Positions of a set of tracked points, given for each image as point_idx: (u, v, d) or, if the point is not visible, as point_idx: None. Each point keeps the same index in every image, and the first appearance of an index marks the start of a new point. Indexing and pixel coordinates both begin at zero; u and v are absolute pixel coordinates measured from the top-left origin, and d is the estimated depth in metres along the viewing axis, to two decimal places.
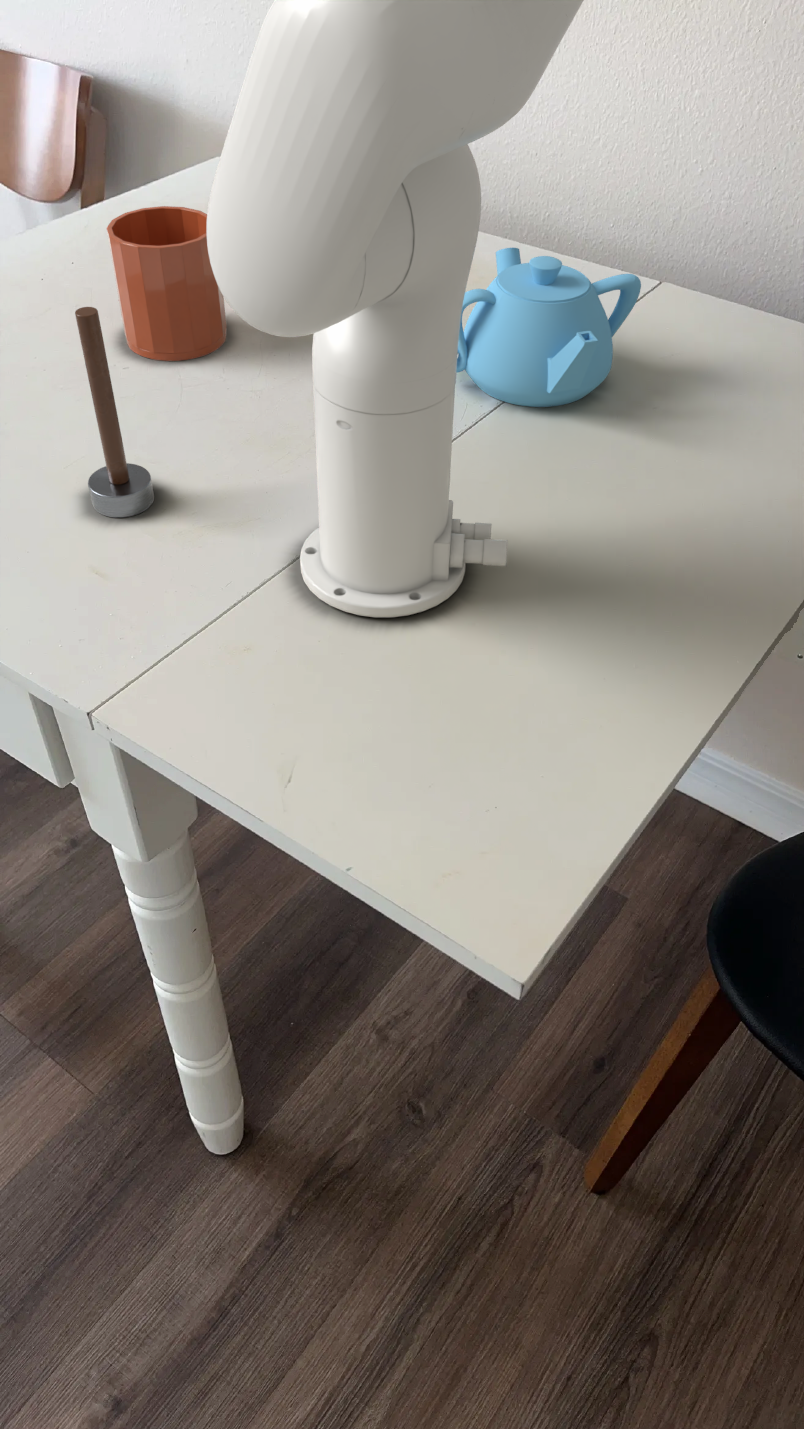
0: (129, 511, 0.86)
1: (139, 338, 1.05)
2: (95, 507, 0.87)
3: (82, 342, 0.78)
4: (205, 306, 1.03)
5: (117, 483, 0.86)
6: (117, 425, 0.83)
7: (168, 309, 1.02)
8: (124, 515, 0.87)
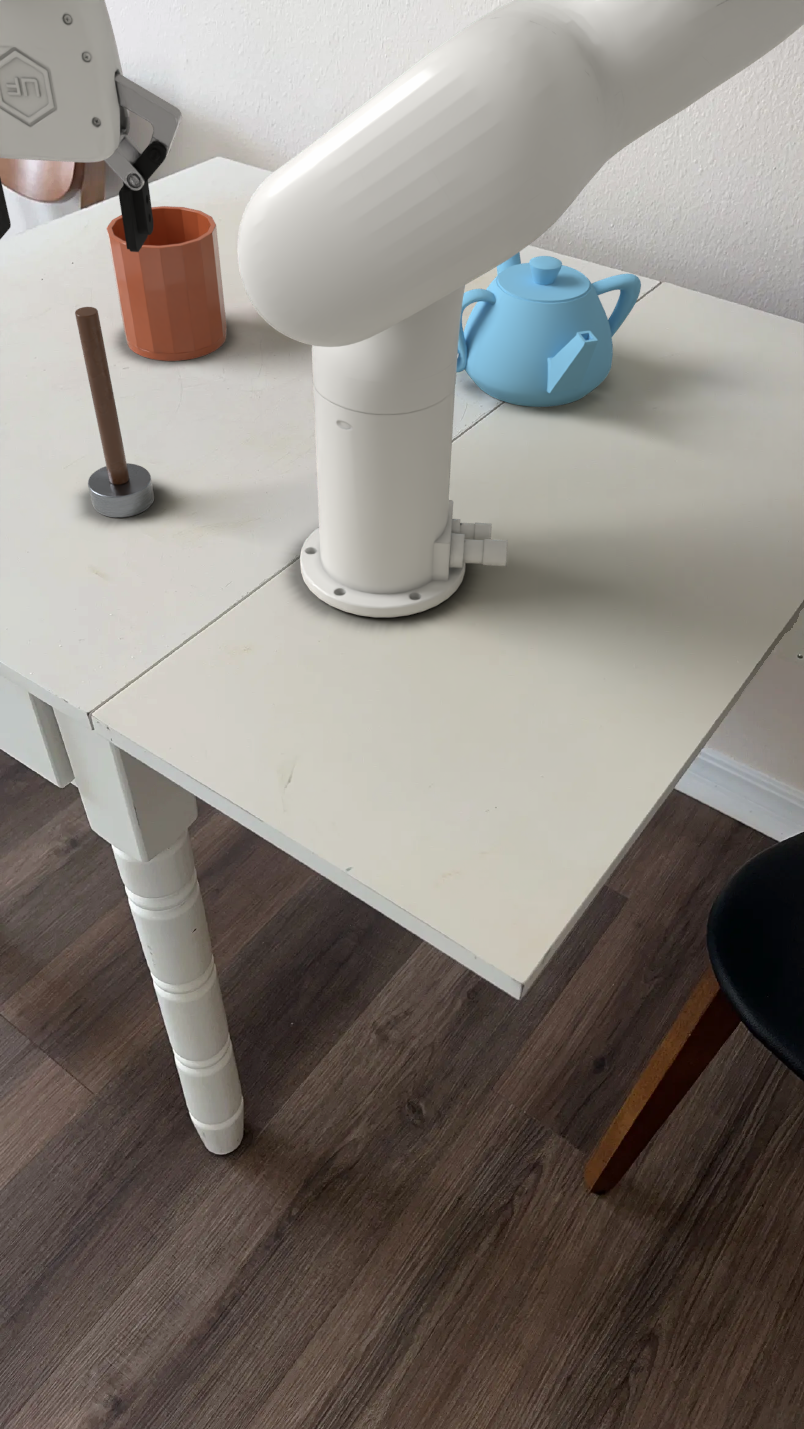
0: (129, 511, 0.86)
1: (139, 338, 1.05)
2: (95, 507, 0.87)
3: (82, 342, 0.78)
4: (205, 306, 1.03)
5: (117, 483, 0.86)
6: (117, 425, 0.83)
7: (168, 309, 1.02)
8: (124, 515, 0.87)
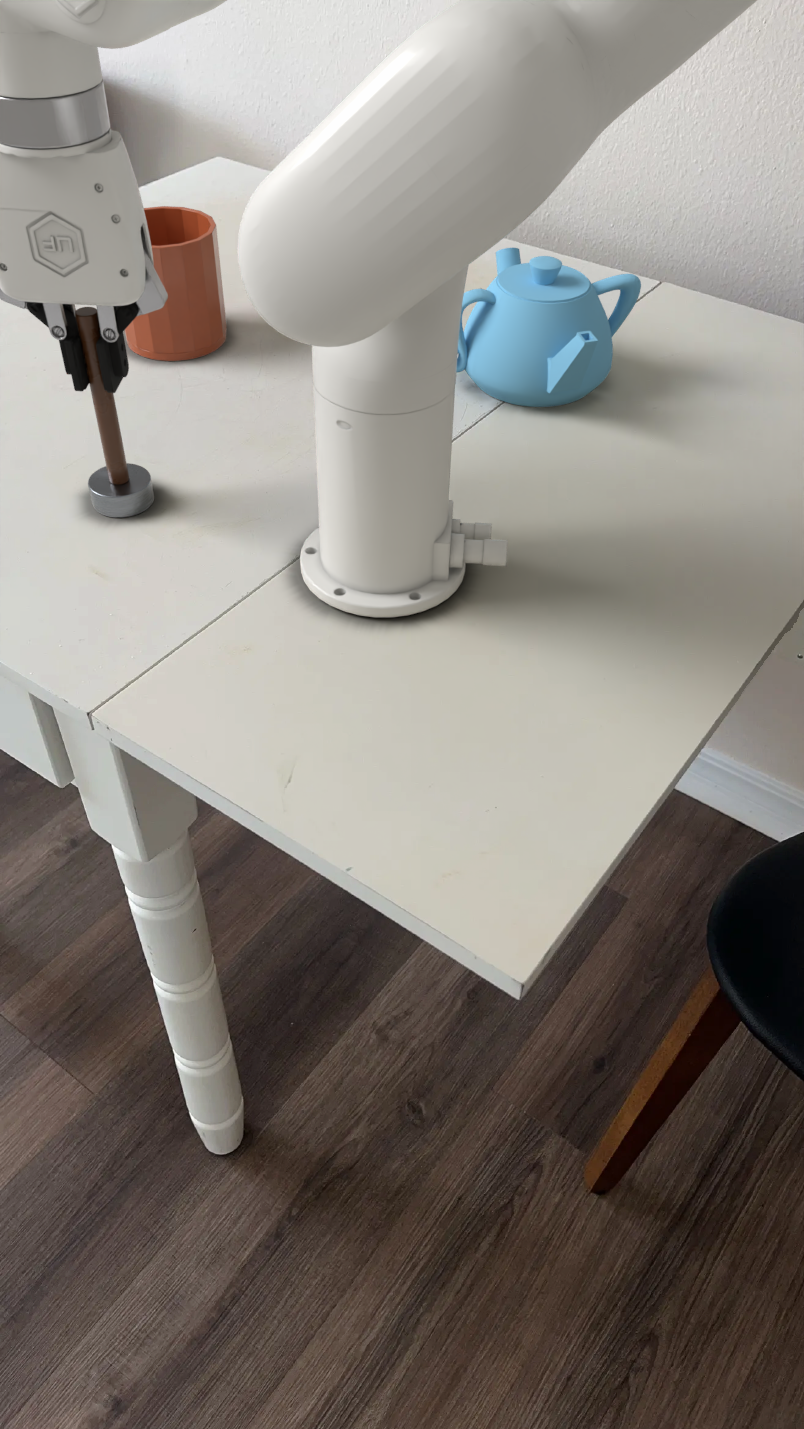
0: (129, 511, 0.86)
1: (139, 338, 1.05)
2: (95, 507, 0.87)
3: (82, 342, 0.78)
4: (205, 306, 1.03)
5: (117, 483, 0.86)
6: (117, 425, 0.83)
7: (168, 309, 1.02)
8: (124, 515, 0.87)
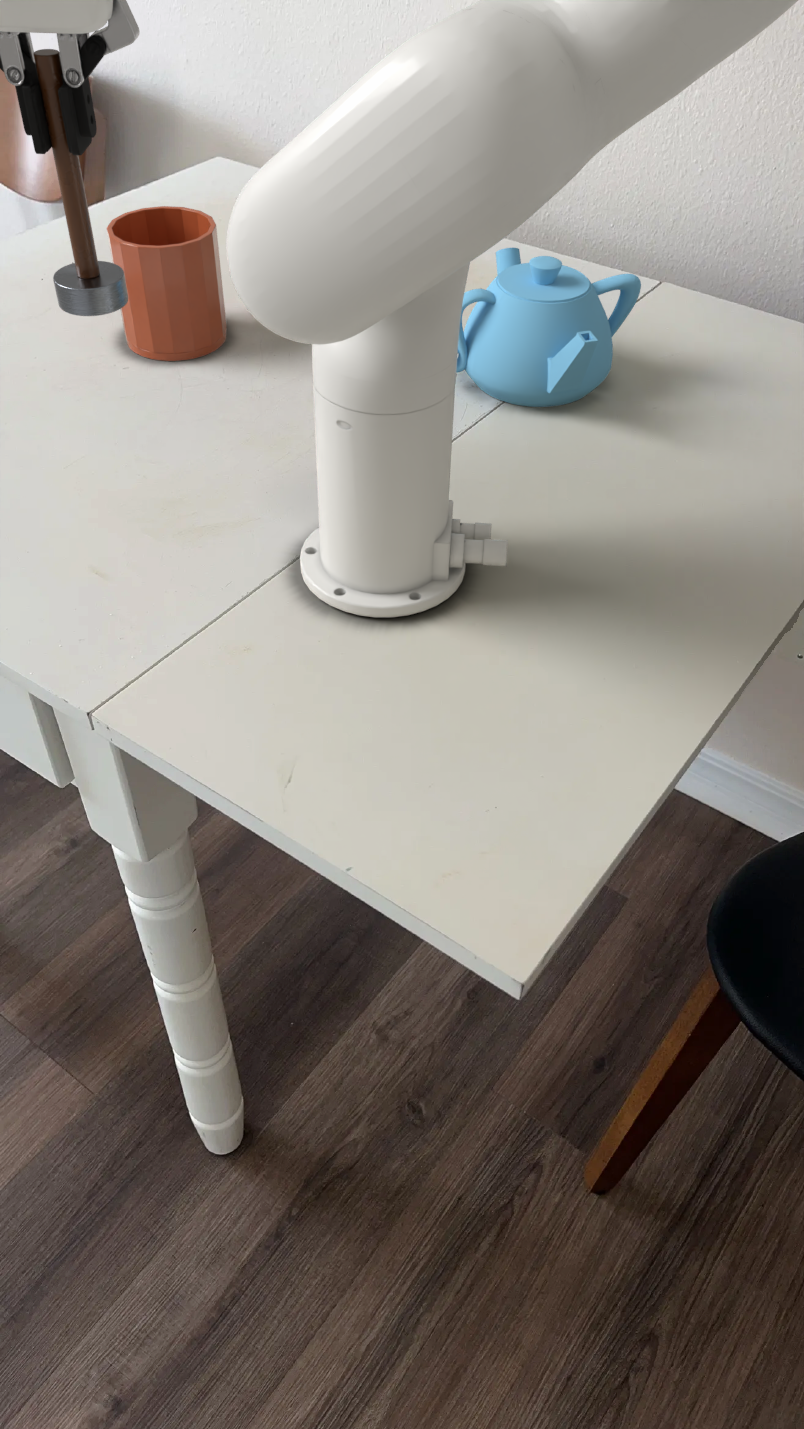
0: (100, 308, 0.77)
1: (139, 338, 1.05)
2: (62, 306, 0.77)
3: (42, 91, 0.69)
4: (205, 306, 1.03)
5: (86, 277, 0.77)
6: (85, 202, 0.74)
7: (168, 309, 1.02)
8: (94, 313, 0.77)
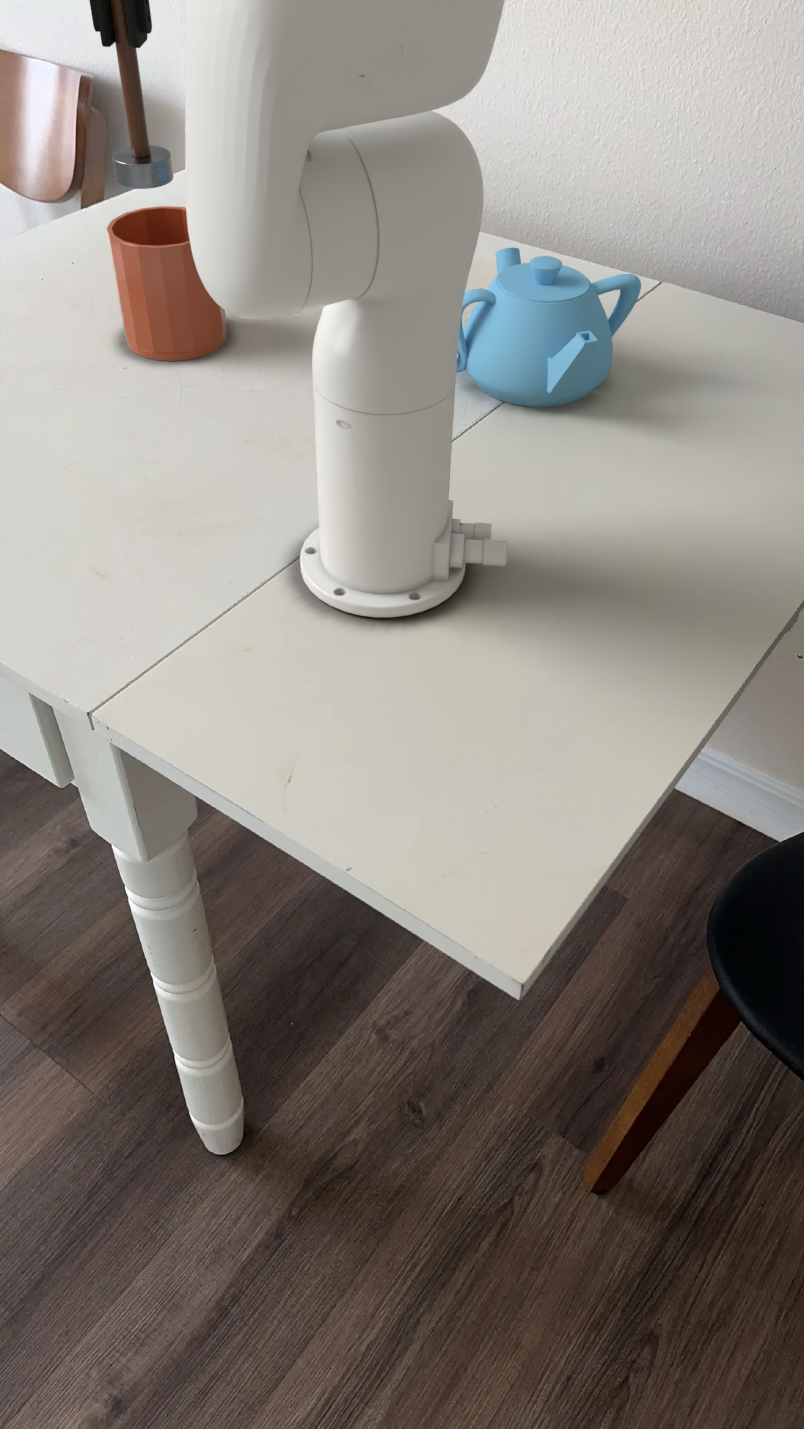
0: (151, 182, 0.93)
1: (139, 338, 1.05)
2: (119, 180, 0.93)
3: None
4: (205, 306, 1.03)
5: (139, 155, 0.92)
6: (140, 90, 0.89)
7: (168, 309, 1.02)
8: (146, 186, 0.93)
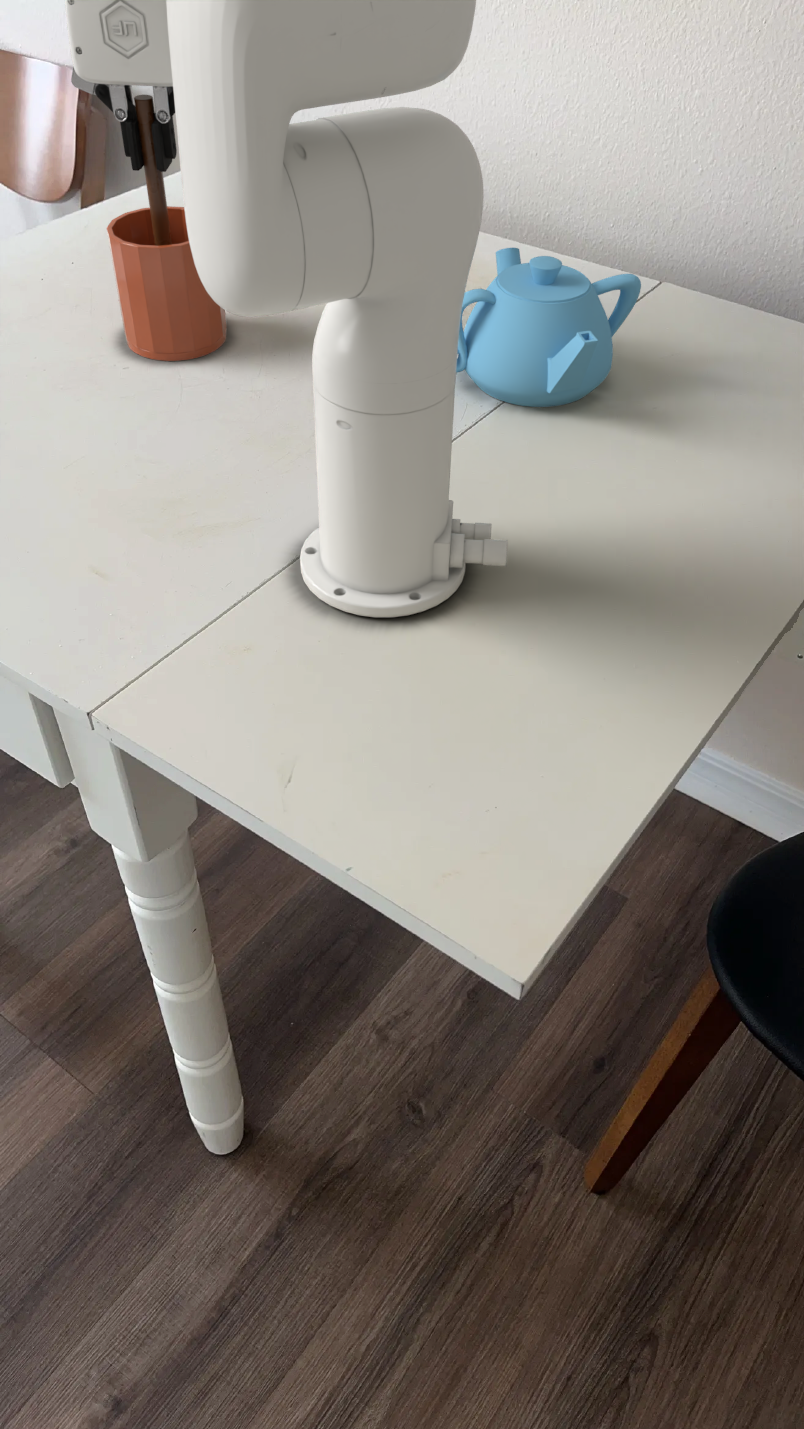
0: None
1: (139, 338, 1.05)
2: None
3: (139, 125, 0.95)
4: (205, 306, 1.03)
5: None
6: (165, 205, 1.00)
7: (168, 309, 1.02)
8: None
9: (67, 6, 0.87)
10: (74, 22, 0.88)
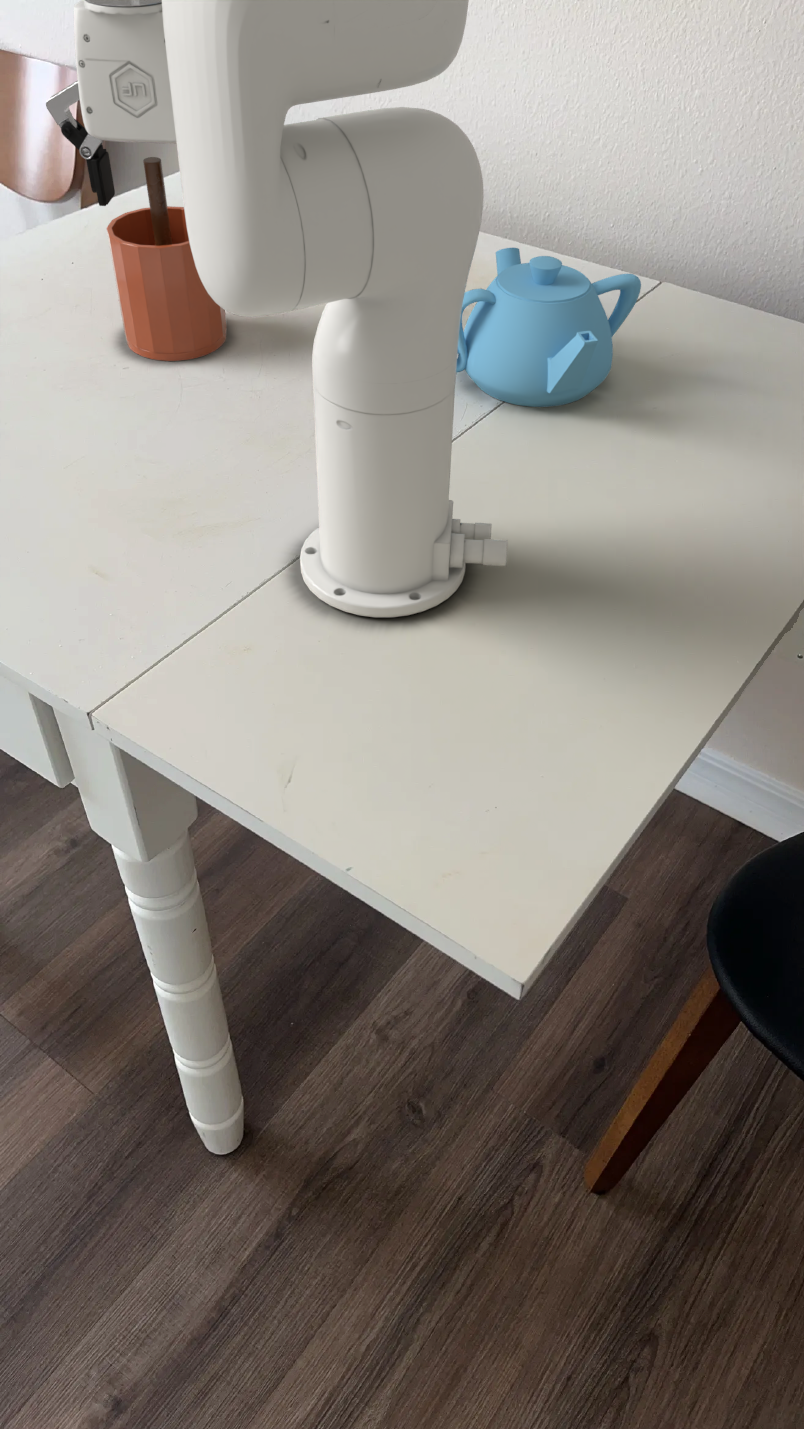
0: None
1: (139, 338, 1.05)
2: None
3: (148, 186, 0.98)
4: (205, 306, 1.03)
5: None
6: None
7: (168, 309, 1.02)
8: None
9: (79, 69, 0.90)
10: (85, 83, 0.91)
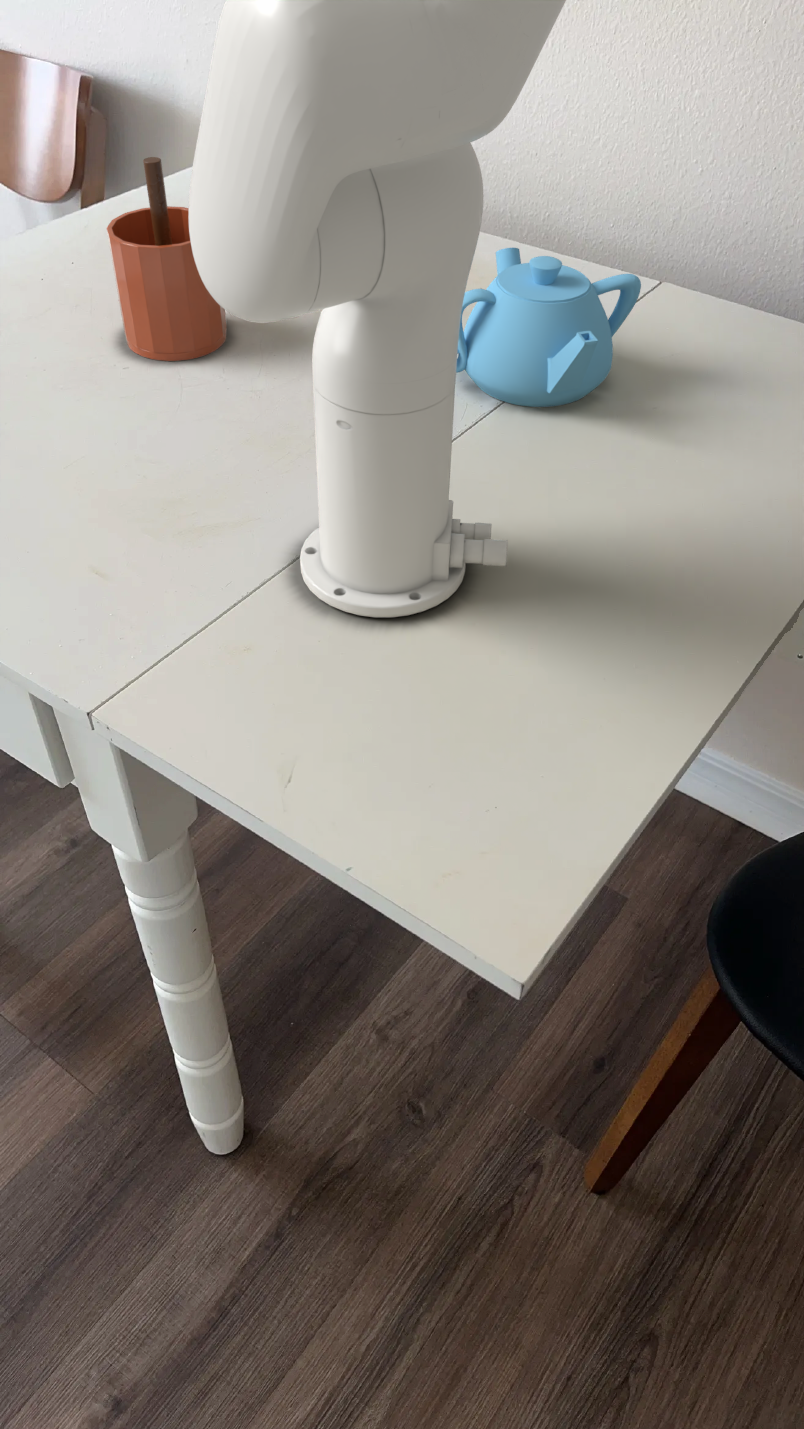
0: None
1: (139, 338, 1.05)
2: None
3: (148, 186, 0.98)
4: (205, 306, 1.03)
5: None
6: None
7: (168, 309, 1.02)
8: None
9: None
10: None
